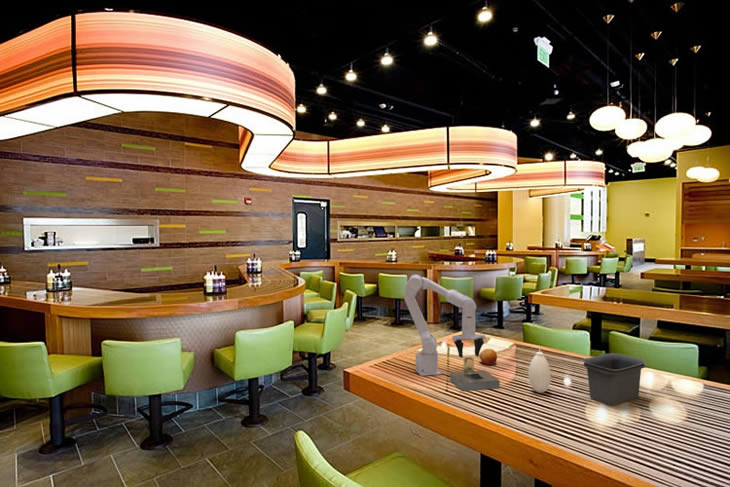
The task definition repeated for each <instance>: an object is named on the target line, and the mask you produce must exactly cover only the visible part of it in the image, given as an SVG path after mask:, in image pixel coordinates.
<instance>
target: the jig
mask: <svg viewBox="0 0 730 487" xmlns="http://www.w3.org/2000/svg"><path fill="white" fill-rule="evenodd" d="M449 381H450V382H451V383H453V384H454V385H455V386H456V387H457V388H458V389H459V390H461V391H462V392H464V391H465V392H467V391H477V390H489V389H491V390H492V389H500V388H501V386H500V385H501V383H500V382H501V380H500V379H499V378H497V377H495V376H493V375H492V374H491V373H490V372H488V371H486V370H474V371H471V372H464V371H462V372H461V371H460V372H459V371H457V372H450V373H449Z"/></svg>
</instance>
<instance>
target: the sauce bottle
mask: <svg viewBox="0 0 730 487" xmlns="http://www.w3.org/2000/svg"><path fill="white" fill-rule="evenodd" d="M538 347H539V348H538V351H537V352H536V353H535V354H534V356H533V357H532V360H531V362H530V363H529V364H530V365H529V369H528V379H529V380H528V381H529V383H530V386H531V388H532V389H533V390H534V391H535V392H537V393H539V394H543V393H545V392H546V391H547V390H548V389H549V387H550V385H551V382H552V377H551V376H552V373H551V369H550V368H551V367H550V365H549V363H548V360H547V358H546V356H545V355H544V352H542V351H541V346H540V345H539V346H538Z"/></svg>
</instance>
